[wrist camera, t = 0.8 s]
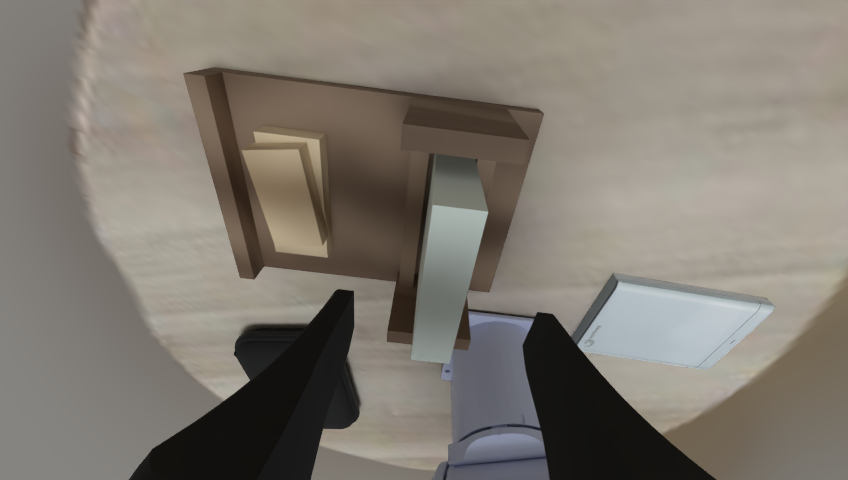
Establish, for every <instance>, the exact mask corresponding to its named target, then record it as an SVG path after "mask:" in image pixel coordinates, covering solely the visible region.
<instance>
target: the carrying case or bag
mask: <svg viewBox="0 0 848 480" xmlns="http://www.w3.org/2000/svg"><path fill="white" fill-rule="evenodd" d="M303 330H304V329H257V330H252V331H248V332H245V333H244V334H242V335H241V336H239V338H238V339H237V341H236V343H235V352H234V355H235V357H237V359H238V361H239V362H240V364H241V366H242V367H243V369H244V371H245V372H246V374H247V376H248V377H249V379H250V380H252V379H253V378H254V377H255V376H256V375H258V374H259V373H260V372H261V371H262V370H263V369H265V368H266V367H267V366H268V365H269V364H270V363H271V362H272V361H273V360H275V359H276V358H277V357H278V356H279V355H280V354H281V353H282V352H283V351H284V350H285V349H286V348H287V347H288V346H289V345H290V344H291V343H292V342H293V341H294V340H295V339H296V338H297V337H298V336H299V335H300V334H301V332H302V331H303ZM359 414H360V411H359V406H358V402H357V399H356V396H355V393H354V389H353V386H352V383H351V380H350V377H349V373H348V370H347V367H346V364H345V363H344V366H343V369H342V372H341V375H340V378H339V380H338V383H337V386H336V389H335V392H334V395H333V398H332V400H331V403H330V406H329V409H328V413H327V416H326V419H325V423H324V427H323V429H344V428H347V427H349V426H350V425H351V424H352V423H354V422H355V421H356V420H357V419H358V417H359Z"/></svg>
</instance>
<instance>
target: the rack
mask: <svg viewBox="0 0 848 480" xmlns="http://www.w3.org/2000/svg"><path fill="white" fill-rule="evenodd" d="M183 74H184V78H185V81H186V85H187V89H188V92H189V96H190V99H191V103H192V107H193V110H194V114H195V117H196V121H197V125H198V128H199V132H200V135H201V139H202V143H203V146H204V150H205V153H206V157H207V160H208V164H209V168H210V171H211V175H212V178H213V182H214V186H215V189H216V193H217V196H218V200H219V204H220V207H221V211H222V214H223V218H224V222H225V225H226V229H227V232H228V236H229V240H230V243H231V247H232V250H233V254H234V258H235V261H236V265H237V268H238V272H239V276H240V278H246V279H255V278H256V277H257V275H258V274H259V272H260V271H261V270H262V268H263V267H264V266H267V267H275V268H284V269H293V270H301V271H310V272H318V273H327V274H336V275H344V276H353V277H361V278H370V279H379V280H387V281H396V287H395V292H394V298H393V303H392V309H391V315H390V320H389V326H388V332H387V342H395V343H404V344H412V341H413V330H414V320H415V309H416V299H417V288H418V278H419V267H420V258H421V251H422V243H423V236H424V228H425V221H426V213H427V206H428V198H429V191H430V183H431V175H432V168H433V160H434V154H441V155H449V156H457V157H465V158H473V159H476V163H477V167H478V171H479V176H480V180H481V184H482V188H483V192H484V196H485V200H486V204H487V208H488V215H487V219H486V223H485V226H484V230H483V234H482V238H481V242H480V246H479V250H478V254H477V258H476V262H475V266H474V269H473V273H472V277H471V281H470V285H469V289H468V290H473V291H482V292H489V291H490V288H491V285H492V281H493V278H494V275H495V272H496V268H497V265H498V262H499V259H500V255H501V252H502V249H503V246H504V242H505V239H506V236H507V233H508V229H509V226H510V223H511V220H512V216H513V213H514V210H515V207H516V203H517V200H518V197H519V194H520V190H521V187H522V184H523V181H524V177H525V174H526V171H527V168H528V164H529V161H530V158H531V155H532V151H533V148H534V145H535V142H536V138H537V135H538V132H539V129H540V125H541V122H542V119H543V116H544V113H542V112H541V111H540V110H538V109H530V108H522V107H515V106H507V105H499V104H492V103H484V102H476V101H468V100H461V99H453V98H445V97H438V96H430V95H422V94H414V93H407V92H399V91H391V90H384V89H376V88H368V87H360V86H353V85H345V84H337V83H330V82H322V81H314V80H306V79H299V78H291V77H283V76H276V75H268V74H260V73H252V72H245V71H237V70H229V69H222V68H209V69H204V70H198V71H193V72H188V73H183ZM262 126H271V127H279V128H287V129H295V130H303V131H311V132H319V133H326V143H327V160H328V177H329V193H330V210H331V227H332V243H333V248H332V250H331V252H330V254H329V256H328V258H326V257H318V256H309V255H301V254H292V253H284V252H276V250H275V245H274V241H273V239H272V236H271V233H270V230H269V227H268V224H267V222H266V219H265V216H264V213H263V210H262V207H261V204H260V202H259V199H258V196H257V193H256V190H255V187H254V184H253V182H252V179H251V176H250V173H249V170H248V167H247V164H246V162H245V159H244V156H243V153H242V150H243V149H244V148H246V147H247V146H249V145H250V144H252V143H256V142H255V137H254V131H255V130H257V129H259V128H261V127H262ZM470 341H471V336H470V325H469V313H468V302H467V297H466V301H465V305H464V309H463V312H462V316H461V320H460V324H459V328H458V332H457V336H456V340H455V344H454V348H453V349H458V350H466V351H468V348H469V345H470Z"/></svg>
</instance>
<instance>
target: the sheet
mask: <svg viewBox="0 0 848 480" xmlns="http://www.w3.org/2000/svg"><path fill="white" fill-rule="evenodd" d="M487 215H488V208H487V204H486V200H485V196H484V192H483V188H482V184H481V180H480V176H479V171H478V167H477V163H476V159H473V158H465V157H457V156H449V155H441V154H434V160H433V168H432V175H431V183H430V191H429V198H428V206H427V213H426V221H425V228H424V236H423V243H422V251H421V258H420V267H419V278H418V288H417V299H416V309H415V320H414V330H413V341H412V351H411V360H418V361H427V362H436V363H445V364H449V363H450V359H451V355H452V352H453V348H454V344H455V340H456V336H457V332H458V328H459V324H460V320H461V316H462V312H463V309H464V305H465V301H466V297H467V293H468V289H469V285H470V281H471V277H472V273H473V269H474V266H475V262H476V258H477V254H478V250H479V246H480V242H481V238H482V234H483V230H484V226H485V223H486V219H487Z"/></svg>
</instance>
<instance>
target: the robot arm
mask: <svg viewBox="0 0 848 480" xmlns="http://www.w3.org/2000/svg"><path fill="white" fill-rule="evenodd" d="M468 313H469V325H470V336H471V341H470V345H469V348H468V351H466V350H458V349H453V352H452V355H451V359H450V363H449V364H445V363H443V367H442V371H441V378H442V379H443V380H449V381H451V404H452V439H453V444H449V445H448V461H445V462H442V463H440V464H439V466H438V468H437V470H436V472H435V474H434V475H433V477H432V480H716V479H715V478H713V477H712V476H711V475H709V474H708V473H707V472H706V471H704V470H703V469H702V468H701V467H699V466H698V465H697V464H696V463H694V462H693V461H692V460H691V459H689V458H688V457H687V456H686V455H684V454H683V453H682V452H681V451H680V450H679V449H677V448H676V447H675V446H674V445H673V444H671V443H670V442H669V441H668V440H667V439H666V438H665V437H664V436H662V435H661V434H660V433H659V432H658V431H657V430H656V429H655V428H653V427H652V426H651V425H650V424H649V423H648V422H647V421H646V420H645V419H644V418H643V417H642V416H641V415H640V414H639V413H638V412H637V411H636V410H635V409H634V408H633V407H631V406H630V405H629V404H628V403H627V402H626V401H625V400H624V399H623V398H622V396H621V395H620V394H619V393H618V392H617V391H616V390H615V389H614V388H613V387H612V386H611V385H610V384H609V382H608V381H607V380H606V379H605V378H604V377H603V376H602V375H601V373H600V372H599V371H598V370H597V369H596V368H595V366H594V365H593V364H592V363H591V362H590V361H589V359H588V358H587V357H586V356H585V354H584V353H583V352H582V351H581V349H580V348H579V347H578V346H577V344H576V343H575V342H574V341H573V339H572V338H571V337H570V335H569V334H568V333H567V332H566V330H565V329H564V328H563V326H562V325H561V324H560V323H559V321H558V320H557V319H556V317H555V316H554V315H553V314H548V313H540V312H537V314H536V317H535V319H532V318H524V317H515V316H506V315H498V314H489V313H480V312H471V311H468ZM353 330H354V291H349V290H340V289H338V290H336V291H335V292H334V293H333V295H332V296H331V298H330V299H329V300H328V302H327V303H326V304H325V305H324V307H323V308H322V309H321V310H320V312H319V313H318V314H317V315H316V317H315V318H314V319H313V320H312V321H311V322H310V323H309V325H308V326H307V327H306V328H305V329H304V330H303V331H302V332H301V334H300V335H299V336H298V337H297V338H296V339H295V340H294V341H293V342H292V343H291V344H290V345H289V346H288V347H287V348H286V349H285V350H284V351H283V352H282V353H281V354H280V355H279V356H278V357H277V358H276V359H275V360H273V361H272V362H271V363H270V364H269V365H268V366H267V367H266V368H265V369H263V370H262V371H261V372H260V373H259V374H258V375H256V376H255V377H254V378H253V379H252V380H250V381H249V382H248V383H247V384H246V385H244V386H243V387H242V388H241V389H239V390H238V391H237V392H236V393H234V394H233V395H232V396H230V397H229V398H228V399H226V400H225V401H223V402H222V403H221V404H219V405H218V406H217V407H215V408H214V409H212V410H211V411H210V412H208V413H207V414H205V415H204V416H203V417H201V418H200V419H198V420H197V421H195V422H194V423H192V424H191V425H189V426H188V427H186V428H184V429H183V430H181V431H180V432H178V433H177V434H175V435H174V436H172V437H170V438H169V439H167V440H166V441H164V442H163V443H161V444H160V445H158V446H156V447H155V448H153V449H152V450H151V452H150V453H149V454H148V456H147V457H146V458H145V459H144V460H143V462H142V463H141V464H140V465H139V466H138V468H137V469H136V471H135V472H134V473H133V475H132V476H131V478H130V479H129V480H311V475H312V471H313V467H314V463H315V459H316V455H317V451H318V447H319V443H320V439H321V435H322V431H323V427H324V423H325V419H326V416H327V413H328V409H329V406H330V403H331V400H332V398H333V395H334V392H335V389H336V386H337V383H338V380H339V378H340V375H341V372H342V369H343V366H344V363H345V360H346V357H347V354H348V351H349V347H350V343H351V339H352V334H353Z"/></svg>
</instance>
